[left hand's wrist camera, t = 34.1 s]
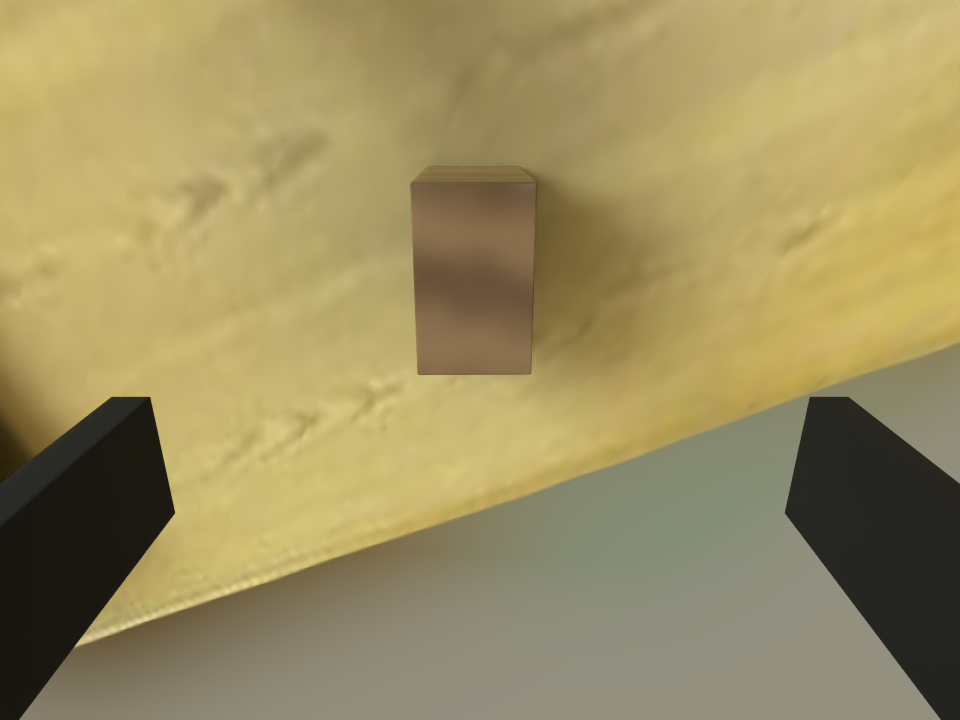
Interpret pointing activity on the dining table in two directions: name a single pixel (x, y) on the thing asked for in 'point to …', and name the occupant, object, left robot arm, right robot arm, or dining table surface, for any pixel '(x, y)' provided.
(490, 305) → the block
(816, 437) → the left robot arm
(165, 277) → the dining table surface
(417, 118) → the dining table surface
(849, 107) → the dining table surface
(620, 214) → the dining table surface
